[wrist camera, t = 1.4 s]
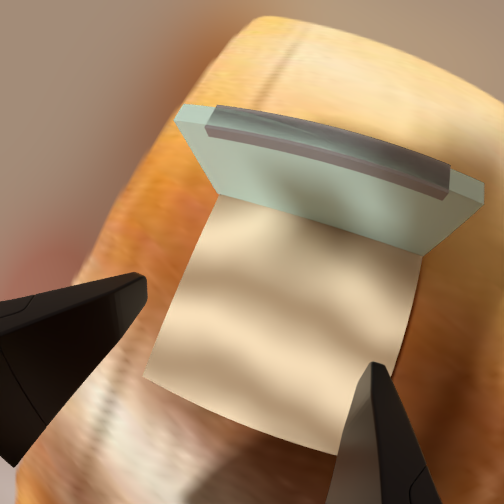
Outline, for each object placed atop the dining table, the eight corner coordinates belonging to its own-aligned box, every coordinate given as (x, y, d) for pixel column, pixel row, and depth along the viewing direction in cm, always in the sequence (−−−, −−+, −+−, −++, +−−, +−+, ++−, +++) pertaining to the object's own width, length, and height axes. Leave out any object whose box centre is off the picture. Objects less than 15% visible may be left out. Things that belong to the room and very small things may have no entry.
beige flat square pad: (352, 453, 18) (355, 460, 16) (151, 375, 22) (142, 376, 20) (418, 250, 22) (424, 243, 20) (229, 192, 26) (225, 183, 24)
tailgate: (422, 258, 20) (483, 208, 11) (216, 195, 24) (171, 123, 15) (426, 238, 20) (484, 179, 11) (224, 177, 24) (185, 101, 15)
